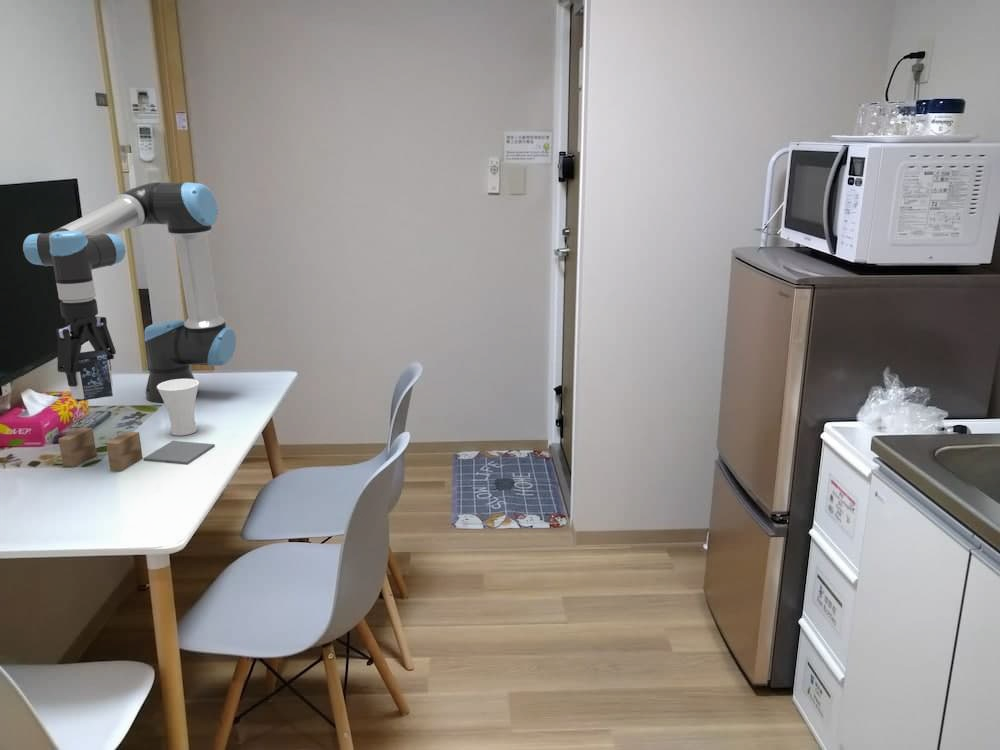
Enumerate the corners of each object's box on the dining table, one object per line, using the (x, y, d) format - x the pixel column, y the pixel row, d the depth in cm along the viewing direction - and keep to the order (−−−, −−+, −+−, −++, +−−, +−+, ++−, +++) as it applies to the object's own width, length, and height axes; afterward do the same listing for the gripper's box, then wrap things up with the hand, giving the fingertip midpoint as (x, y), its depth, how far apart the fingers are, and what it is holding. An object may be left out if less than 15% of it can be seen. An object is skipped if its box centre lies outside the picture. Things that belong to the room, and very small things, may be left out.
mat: (172, 442, 200) (172, 440, 200) (214, 446, 198) (214, 444, 198) (143, 460, 189) (143, 458, 189) (187, 464, 187) (187, 462, 187)
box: (76, 402, 179) (69, 359, 176) (74, 396, 184) (66, 353, 180) (113, 396, 183) (106, 354, 180) (110, 390, 188) (103, 348, 184)
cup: (164, 441, 201) (158, 392, 198) (161, 428, 210) (155, 381, 206) (206, 434, 206) (201, 386, 202) (201, 422, 215) (196, 376, 211)
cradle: (86, 453, 193) (81, 427, 191) (142, 458, 190) (138, 432, 188) (62, 465, 186) (58, 438, 184) (121, 471, 183) (117, 444, 181)
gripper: (96, 289, 187) (110, 377, 194) (26, 308, 167) (44, 405, 173) (123, 291, 186) (136, 379, 193) (56, 310, 165) (73, 408, 172)
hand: (93, 391), depth 183 cm, fingers closed on box, 9 cm apart
